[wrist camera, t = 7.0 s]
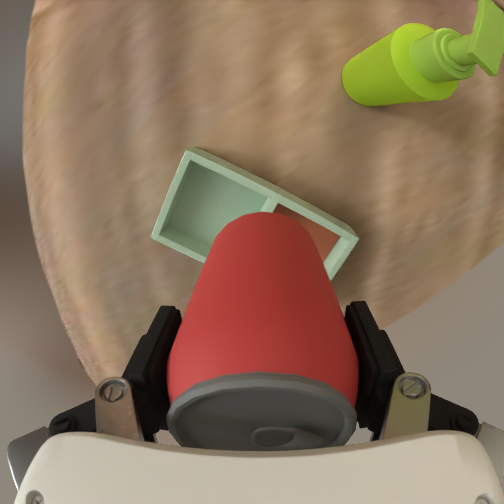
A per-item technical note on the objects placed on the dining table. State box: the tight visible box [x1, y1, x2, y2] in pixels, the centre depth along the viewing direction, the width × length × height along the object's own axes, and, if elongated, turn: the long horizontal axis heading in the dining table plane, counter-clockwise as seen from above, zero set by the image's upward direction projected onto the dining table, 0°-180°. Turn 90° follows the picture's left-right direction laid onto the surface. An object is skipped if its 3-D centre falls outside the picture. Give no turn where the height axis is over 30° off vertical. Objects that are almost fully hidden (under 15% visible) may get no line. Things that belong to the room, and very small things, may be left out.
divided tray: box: [151, 147, 359, 282], centre depth 31 cm, size 19×10×4 cm, turn 63°
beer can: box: [166, 212, 359, 451], centre depth 13 cm, size 7×7×12 cm
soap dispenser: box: [342, 0, 504, 106], centre depth 16 cm, size 6×7×20 cm
